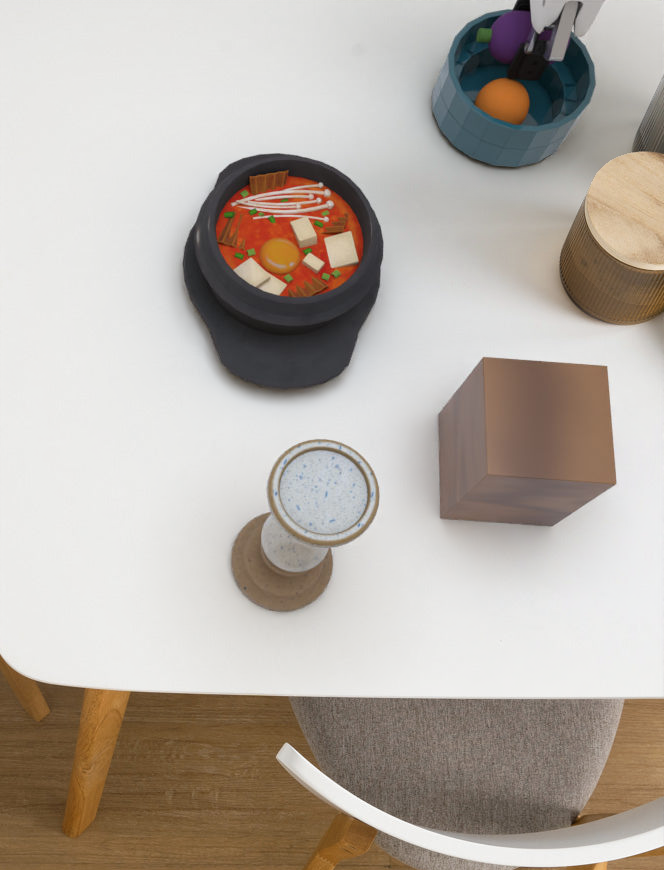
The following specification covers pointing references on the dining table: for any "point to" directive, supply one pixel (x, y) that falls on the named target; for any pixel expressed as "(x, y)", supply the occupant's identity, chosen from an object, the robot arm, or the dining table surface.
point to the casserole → (284, 268)
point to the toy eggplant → (510, 35)
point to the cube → (525, 442)
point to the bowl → (548, 97)
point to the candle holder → (304, 523)
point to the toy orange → (504, 100)
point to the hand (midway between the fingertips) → (521, 53)
